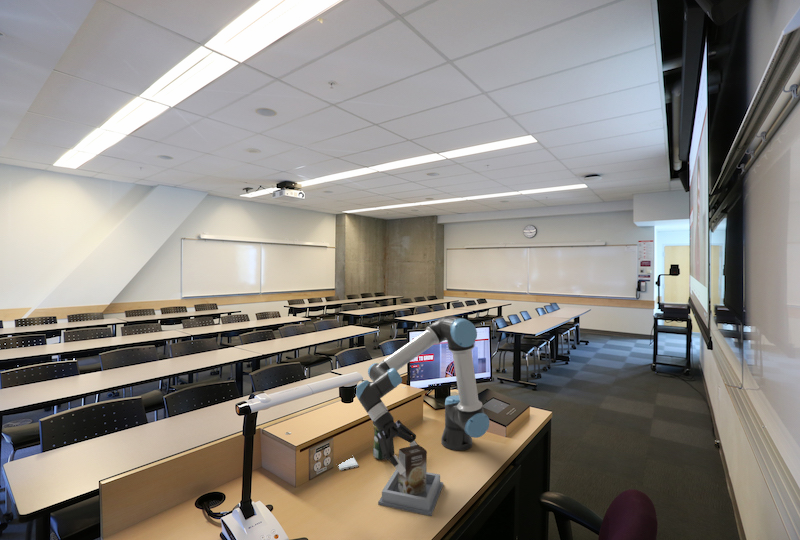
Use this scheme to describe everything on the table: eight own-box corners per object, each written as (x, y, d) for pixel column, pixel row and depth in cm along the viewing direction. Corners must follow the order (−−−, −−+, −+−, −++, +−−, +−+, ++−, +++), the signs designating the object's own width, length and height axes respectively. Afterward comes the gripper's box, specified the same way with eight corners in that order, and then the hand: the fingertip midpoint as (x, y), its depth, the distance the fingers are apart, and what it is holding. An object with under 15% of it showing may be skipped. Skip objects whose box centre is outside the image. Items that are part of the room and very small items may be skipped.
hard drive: (332, 455, 172) (340, 468, 161) (350, 451, 176) (358, 463, 165) (332, 458, 172) (340, 472, 161) (350, 454, 176) (358, 467, 165)
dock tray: (396, 475, 157) (396, 465, 157) (443, 484, 151) (443, 473, 151) (378, 504, 138) (378, 492, 138) (431, 516, 132) (431, 503, 132)
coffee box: (405, 499, 140) (406, 456, 140) (397, 490, 146) (398, 448, 145) (426, 492, 144) (427, 450, 144) (418, 483, 150) (418, 443, 150)
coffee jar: (388, 449, 180) (388, 410, 180) (396, 456, 173) (396, 416, 173) (370, 454, 175) (370, 414, 175) (377, 462, 168) (378, 420, 168)
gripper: (392, 411, 164) (422, 455, 156) (356, 433, 143) (388, 484, 135) (403, 402, 161) (434, 446, 153) (367, 422, 140) (400, 474, 132)
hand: (412, 464), depth 144 cm, fingers open, 13 cm apart
